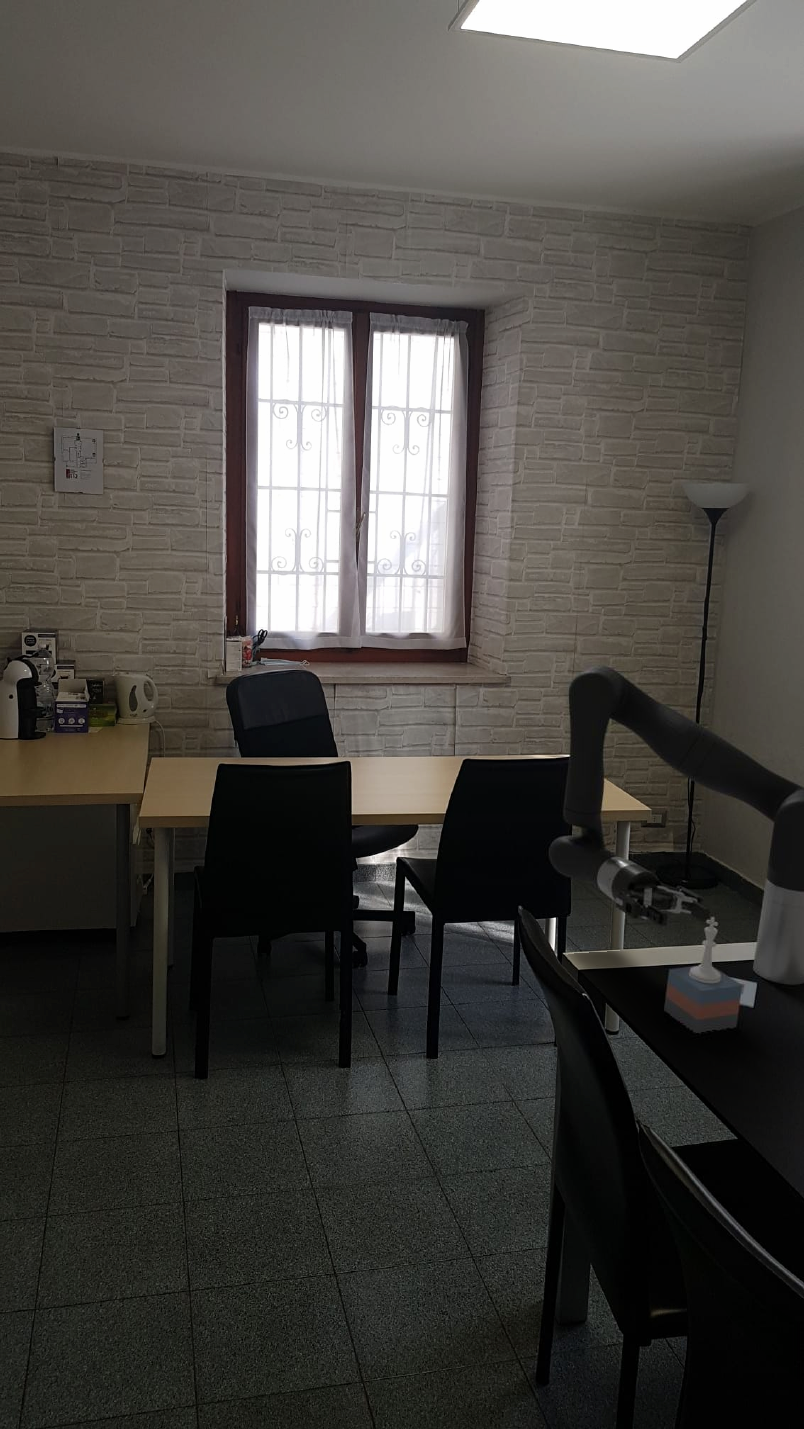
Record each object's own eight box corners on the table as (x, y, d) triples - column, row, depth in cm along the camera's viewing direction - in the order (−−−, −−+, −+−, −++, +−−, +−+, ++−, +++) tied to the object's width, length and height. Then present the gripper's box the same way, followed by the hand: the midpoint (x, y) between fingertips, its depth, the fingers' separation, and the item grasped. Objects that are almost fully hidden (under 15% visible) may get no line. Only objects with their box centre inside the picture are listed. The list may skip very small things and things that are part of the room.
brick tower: (663, 1010, 173) (669, 969, 172) (703, 1004, 177) (709, 964, 175) (695, 1033, 166) (701, 991, 165) (736, 1027, 170) (742, 985, 168)
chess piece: (713, 986, 167) (722, 926, 165) (683, 976, 170) (691, 917, 168) (725, 977, 171) (733, 918, 169) (696, 967, 174) (703, 909, 172)
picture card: (715, 975, 188) (715, 973, 188) (756, 984, 186) (757, 982, 186) (709, 998, 179) (710, 995, 179) (753, 1008, 177) (753, 1005, 177)
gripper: (596, 866, 185) (654, 900, 170) (663, 860, 191) (724, 893, 176) (591, 907, 186) (648, 944, 172) (658, 900, 192) (718, 935, 178)
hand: (686, 918), depth 174 cm, fingers open, 8 cm apart
